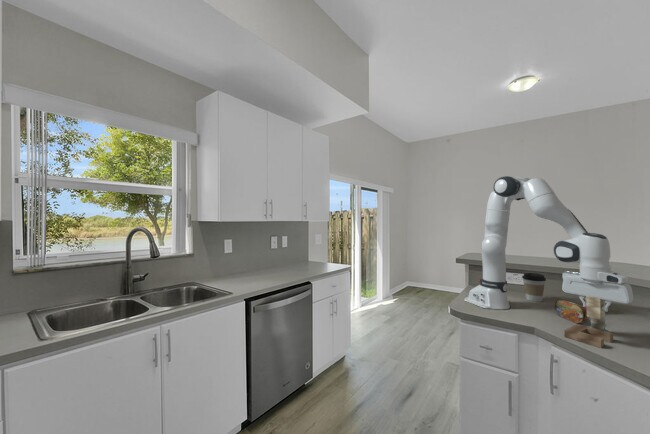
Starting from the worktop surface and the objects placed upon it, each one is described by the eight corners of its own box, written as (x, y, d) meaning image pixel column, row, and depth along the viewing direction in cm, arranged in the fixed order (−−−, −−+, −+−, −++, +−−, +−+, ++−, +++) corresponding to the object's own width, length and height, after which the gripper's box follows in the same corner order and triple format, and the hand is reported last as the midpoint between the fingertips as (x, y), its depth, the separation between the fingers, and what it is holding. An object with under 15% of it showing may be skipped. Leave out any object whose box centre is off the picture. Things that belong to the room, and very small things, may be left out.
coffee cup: (523, 296, 169) (523, 271, 169) (547, 299, 162) (547, 274, 161) (520, 300, 161) (520, 274, 161) (545, 304, 153) (544, 277, 153)
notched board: (564, 336, 113) (564, 329, 113) (577, 330, 119) (577, 323, 119) (600, 348, 104) (600, 340, 104) (613, 340, 109) (613, 333, 109)
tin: (554, 314, 139) (554, 297, 139) (560, 314, 139) (560, 297, 139) (582, 326, 124) (582, 307, 124) (589, 326, 124) (589, 307, 124)
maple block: (586, 316, 110) (586, 296, 110) (590, 314, 112) (590, 294, 112) (600, 319, 107) (599, 298, 107) (604, 317, 109) (603, 297, 109)
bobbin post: (583, 331, 118) (583, 289, 118) (590, 327, 122) (590, 287, 122) (605, 337, 112) (605, 293, 112) (612, 333, 116) (612, 290, 115)
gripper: (558, 270, 117) (559, 303, 117) (628, 280, 99) (629, 318, 99) (565, 269, 120) (566, 300, 120) (634, 277, 102) (635, 315, 102)
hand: (595, 309), depth 109 cm, fingers closed on maple block, 4 cm apart
